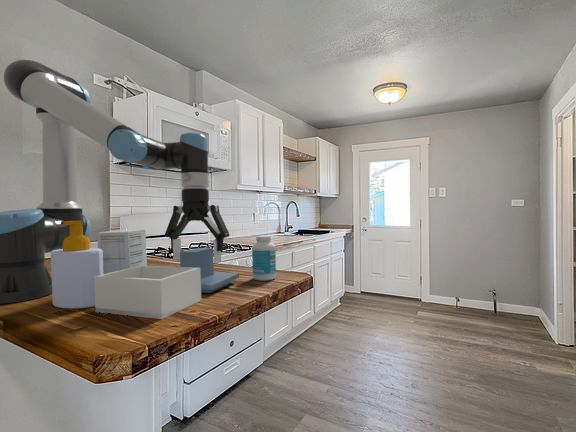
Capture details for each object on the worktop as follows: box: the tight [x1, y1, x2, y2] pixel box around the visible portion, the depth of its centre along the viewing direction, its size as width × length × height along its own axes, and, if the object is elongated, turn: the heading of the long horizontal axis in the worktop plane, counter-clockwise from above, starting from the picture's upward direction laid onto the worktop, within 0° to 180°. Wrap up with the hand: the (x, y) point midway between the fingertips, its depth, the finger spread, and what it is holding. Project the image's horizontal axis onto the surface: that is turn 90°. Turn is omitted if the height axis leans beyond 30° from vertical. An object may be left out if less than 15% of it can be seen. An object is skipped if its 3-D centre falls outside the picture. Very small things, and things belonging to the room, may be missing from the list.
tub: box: [94, 265, 202, 320], centre depth 75 cm, size 18×14×8 cm
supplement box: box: [96, 229, 148, 274], centre depth 93 cm, size 10×9×17 cm
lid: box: [179, 247, 240, 294], centre depth 93 cm, size 19×15×11 cm
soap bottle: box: [50, 221, 104, 310], centre depth 78 cm, size 13×8×20 cm, turn 75°
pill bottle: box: [251, 235, 277, 281], centre depth 102 cm, size 8×7×14 cm
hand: (197, 261), depth 93 cm, fingers open, 13 cm apart
